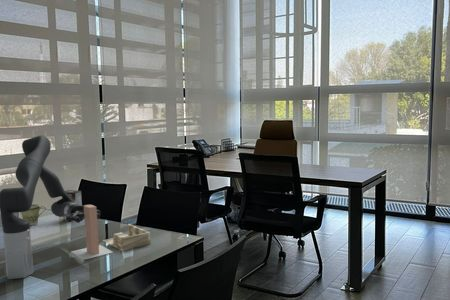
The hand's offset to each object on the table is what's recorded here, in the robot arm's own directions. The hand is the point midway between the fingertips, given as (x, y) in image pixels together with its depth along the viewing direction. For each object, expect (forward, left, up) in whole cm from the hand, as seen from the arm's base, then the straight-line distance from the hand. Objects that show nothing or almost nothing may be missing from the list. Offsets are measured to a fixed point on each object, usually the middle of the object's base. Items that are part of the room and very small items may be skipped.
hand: (88, 218), depth 183 cm
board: (-2, -1, -14) cm, 14 cm away
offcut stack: (+6, -12, -14) cm, 20 cm away
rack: (+9, -14, -16) cm, 23 cm away
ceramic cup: (+63, +39, -16) cm, 76 cm away
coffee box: (+68, +19, -16) cm, 73 cm away
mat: (-1, -1, -16) cm, 16 cm away
